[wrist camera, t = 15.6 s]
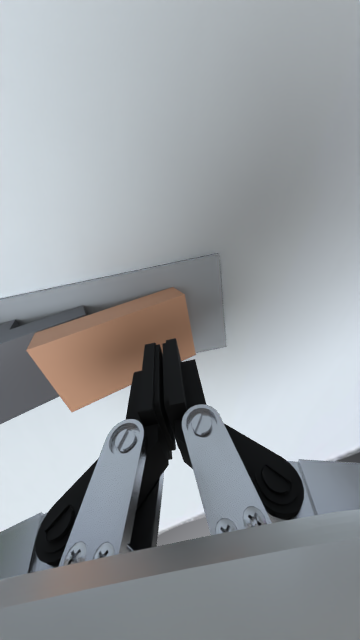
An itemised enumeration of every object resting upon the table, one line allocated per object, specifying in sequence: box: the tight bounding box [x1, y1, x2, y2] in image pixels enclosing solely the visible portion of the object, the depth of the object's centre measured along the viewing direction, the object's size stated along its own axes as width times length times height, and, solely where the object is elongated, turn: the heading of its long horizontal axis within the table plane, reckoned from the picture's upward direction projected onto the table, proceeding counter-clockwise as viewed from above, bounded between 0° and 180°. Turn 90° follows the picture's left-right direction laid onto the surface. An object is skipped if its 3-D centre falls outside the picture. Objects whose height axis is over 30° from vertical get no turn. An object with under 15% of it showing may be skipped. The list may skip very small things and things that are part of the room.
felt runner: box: [0, 253, 226, 353], centre depth 15 cm, size 26×8×1 cm, turn 100°
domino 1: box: [0, 305, 88, 424], centre depth 13 cm, size 2×5×9 cm
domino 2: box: [26, 287, 196, 412], centre depth 13 cm, size 2×5×9 cm
